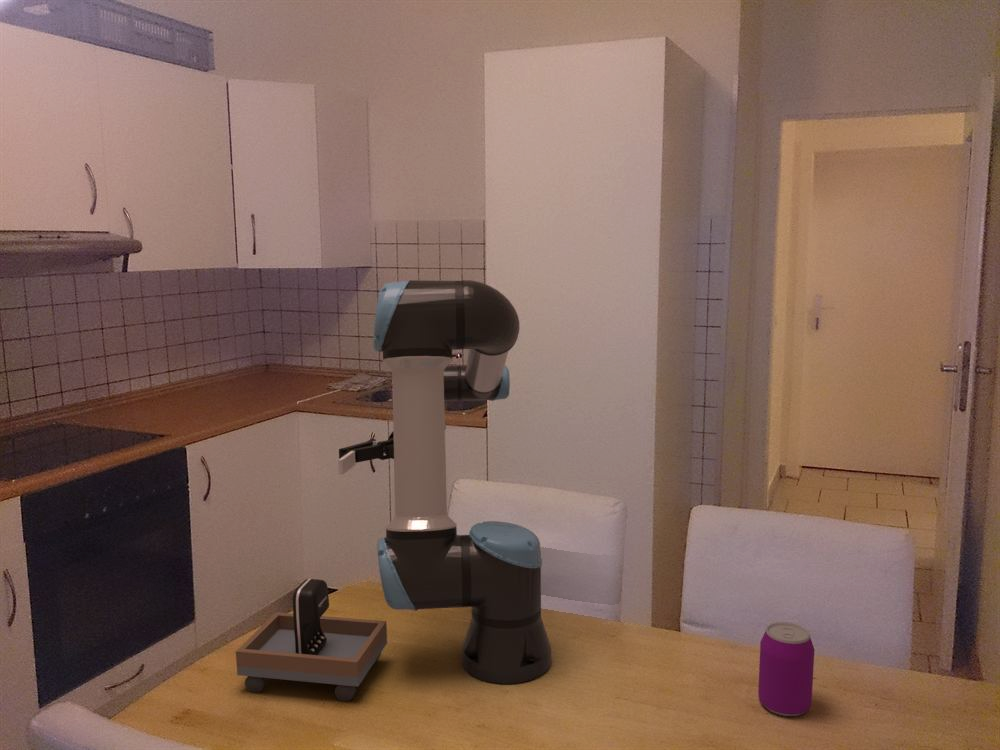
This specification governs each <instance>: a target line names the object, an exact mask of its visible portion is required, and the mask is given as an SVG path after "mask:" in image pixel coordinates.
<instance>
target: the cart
mask: <svg viewBox="0 0 1000 750" xmlns="http://www.w3.org/2000/svg"><path fill="white" fill-rule="evenodd" d="M320 626H321V629H322V631H323V633H324V635H325V637H326V639H327V641H326V643H325V645H324V646H323V647H322V649H321V650H320V651H319V652H318V654H317V655H308V654H297V653H296V649H295V633H294V619H293V613H289V612H288V613H286V612H277V611H276V612H274V614H272V615H271V616H270V617H269V618H268V619H267V620H266V621H265V622H264V623H263V624H262V625H261V626H260V627H259V628H258V629H257V630H256V631H255V632H254V633H253V634H252V635H251V636H250V637H249V638H247V640H246V641H245V642H244V643H243V644H242V645H240V647H239V648H238V649H236V650H235V658H236V659H235V661H236V662H235V663H236V676H243V677H246V678H245V681H244V685H245V688H246V689H247V690H248V691H249V692H250V693H254V694H257V693H259V692H261V691H262V690H263V689H264V688H265V687H266V684H267V679H275V680H286V681H295V682H297V681H298V682H305V683H316V684H328V685H336V686H335V688H334V695H335V696H336V699H338V700H339V701H340V702H343V703H347V702H351V700H352V699H353V698H354V696H355V695H356V694H357V693H356V692H357V688H356V687H359V686H360V684H361V683H362V681H363V680H364V679H365V677H366V676H367V674H368V673H369V671H370V670H371V668H372V666H373V665H374V664H375V663H376V662H378V660H379V658H380V657H381V654H382V652H383V651H384V649H385V647H386V646H387V645H388V631H387V630H388V629H387V620H376V619H365V618H364V619H363V618H362V619H361V618H350V617H338V616H326V615H325V616H324V615H322V616H321V617H320Z"/></svg>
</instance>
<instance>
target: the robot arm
mask: <svg viewBox="0 0 1000 750" xmlns="http://www.w3.org/2000/svg"><path fill="white" fill-rule="evenodd" d="M514 306H515V305H513V304H512V302H511V301H510V300H509V299H508V298H507V297H506V295H504V294H503V293H502V292H500V290H498V289H496V288H495V287H493V286H492V285H491V286H490V285H488V284H485V283H483V282H480V281H476V280H470V279H469V280H467V279H465V280H409V279H408V280H402V281H401V280H400V281H393V282H386V283H385V284H383V285H382V286H381V288H380V291H379V293H378V297H377V304H376V310H375V316H374V317H375V319H374V325H373V326H374V327H373V349H374V351H375V352H378V353H382V363H383V364H384V365H385V366H386V367H387V368H388V369H389V370H390V371H391V375H392V420H393V421H392V423H393V425H392V426H393V429H392V432H391V433H390V434H389V436H388V438H387V440H382V441H378V442H376V441H377V439H375V438H370V439H369V440H367V441H364V442H360V443H356V444H353V445H349V446H345V447H342V448H339V449H338V459H337V462H338V475H341V476H342V475H345V474H346V473H347V472H348V471H349V470H351V469H352V468H353V467H355V466H356V464H357V463H362V462H366V461H367V462H368V461H371V460H376V459H378V460H381V461H385V460H389V459H393V472H394V474H393V476H394V478H393V479H394V481H393V482H394V483H393V484H394V486H393V487H394V517H393V518H392V519H391V521H390V522H389V523H388V524H387V525H385V536H381V538H379V539H377V544H376V547H377V548H376V549H377V558H378V559H377V560H378V561H377V562H378V568H379V576H380V582H381V587H382V592H383V597H384V600H385V603H386V604H387V605H388V607H389V608H391V609H392V610H399V611H401V610H402V611H403V610H405V611H406V610H407V611H410V610H412V611H414V612H417V611H418V610H432V609H433V610H434V609H435V610H436V609H437V610H438V609H454V608H458V609H459V608H471V619H470V622H469V626H468V628H467V631H466V634H465V638H464V640H463V645H462V648H461V664H462V667H463V669H464V671H466V672H467V673H468V674H469V675H471V676H472V677H473V678H476V679H478V680H481V681H484V682H489V683H493V684H502V685H503V684H509V685H511V684H520V683H525V682H529V681H533V680H535V679H538V677H540V676H541V677H542V675H544V674H546V672H548V670H549V669H550V668H551V666H552V646H551V643H550V639H549V637H548V634H547V631H546V627H545V625H544V622H543V619H542V588H541V587H542V583H541V582H542V565H543V559H542V554H541V553H542V551H541V543H540V540H539V537H538V536H537V535H536V534H535V533H534V532H533V531H531V530H530V529H528V528H527V527H524V526H522V525H519V524H515V523H513V522H512V523H511V522H505V521H500V520H499V521H497V520H496V521H495V520H490V521H483V522H477V523H475V524H473V525H472V526H471V527H470V530H469V532H468V534H458V533H457V532H458V531H457V530H458V529H457V523H456V522H455V521H454V520H453V519H452V518H451V517H450V516H449V514H448V504H447V503H448V502H447V500H448V499H447V497H448V496H447V495H448V494H447V461H446V460H447V457H446V455H447V454H446V452H447V451H446V428H447V424H446V423H447V422H446V418H445V417H446V415H445V414H446V413H445V402H457V401H458V402H461V401H462V402H463V401H465V402H466V401H469V402H470V401H492V402H493V401H499V400H506V399H507V398H509V397H510V396H509V395H510V389H511V388H510V387H511V381H510V380H511V379H510V370H509V367H508V366H507V365H506V362H507V358H508V354H509V351H511V350H512V349H513V347H514V346H515V344H516V343H517V340H518V338H519V333H520V319H519V314H518V312H517V310H516V309H515V307H514ZM455 350H461V351H462V350H467V359H466V365H450V364H451V363H452V362H453V351H455Z"/></svg>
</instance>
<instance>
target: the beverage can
mask: <svg viewBox="0 0 1000 750" xmlns="http://www.w3.org/2000/svg"><path fill="white" fill-rule="evenodd" d="M759 645H760V647H759V666H758V667H759V668H758V689H757V690H758V691H757V692H758V694H757V695H758V700H759V702H760V703H761V704H762V706H763V707H765V708H767V709H766V710H768V711H769V710H770V711H769V712H771V713H773V712H774V713H773V714H775V713H776V714H775V715H777V714H779V715H778V716H781V715H783V716H782V717H787V716H794V717H799V716H802V715H803V714H805V713H807V712H808V711H809V710H810V709H811V705H812V701H813V699H812V698H813V685H814V684H813V681H814V667H815V666H814V664H815V647H814V644H813V641H812V639H811V635H810V632H809V630H807V629H806V627H804V626H802V625H798V624H797V623H792V622H785V621H783V622H782V621H780V622H777V621H775V622H773V623H770V624H768V625H767V627H766V628H765V631H764V633H763V636H762V637H761V639H760V643H759ZM801 714H802V715H801ZM798 715H799V716H798Z"/></svg>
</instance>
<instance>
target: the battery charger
mask: <svg viewBox="0 0 1000 750" xmlns="http://www.w3.org/2000/svg"><path fill="white" fill-rule="evenodd" d="M329 599H330V598H329V588H328V584H327V582H326V581H325V580H323V579H317V578H316V579H315V578H306V579H305V580H303V581H302V582H301V583H300V585H298V586H297V587H296V588H295V590H294V591H293V595H292V614H293V619H294V633H295V649H296V653H297V654H308V655H317V654H318V652H319V651H320V650H321V649H322V647H323V646H324V645H325V643H326V641H327V639H326V637H325V635H324V633H323V631H322V629H321V626H320V617H321V616H324V614H325V613H326V611H327V610H328V609H329V607H330V600H329Z"/></svg>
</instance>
